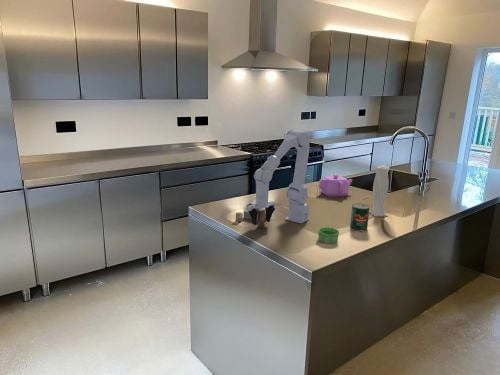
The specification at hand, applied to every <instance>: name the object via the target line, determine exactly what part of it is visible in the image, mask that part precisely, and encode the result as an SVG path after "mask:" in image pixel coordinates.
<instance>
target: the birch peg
mask: <svg viewBox="0 0 500 375" xmlns="http://www.w3.org/2000/svg"><path fill="white" fill-rule="evenodd" d="M243 218H244V212H240V211H238V212H236V213H235V222H236V221H237V223H242V222H243Z"/></svg>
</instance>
